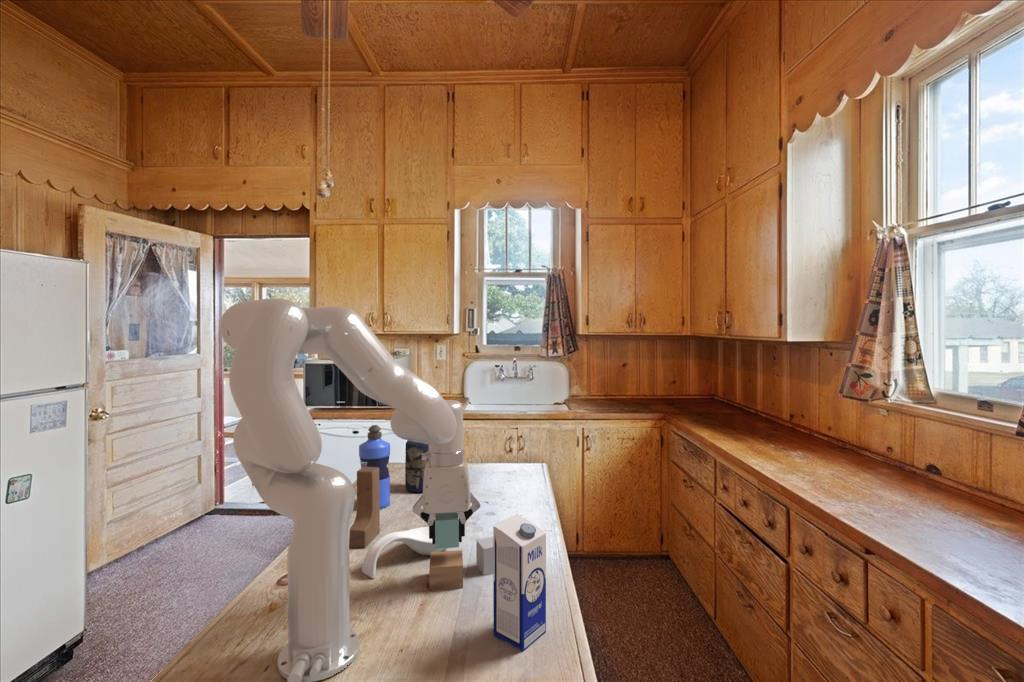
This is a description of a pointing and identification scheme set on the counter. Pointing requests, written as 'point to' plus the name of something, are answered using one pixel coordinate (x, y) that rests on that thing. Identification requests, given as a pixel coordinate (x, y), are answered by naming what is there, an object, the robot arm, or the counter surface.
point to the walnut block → (446, 570)
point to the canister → (415, 465)
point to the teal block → (446, 530)
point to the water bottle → (377, 461)
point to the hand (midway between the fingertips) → (447, 539)
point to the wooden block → (366, 508)
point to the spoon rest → (412, 538)
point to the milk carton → (519, 581)
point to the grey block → (484, 555)
